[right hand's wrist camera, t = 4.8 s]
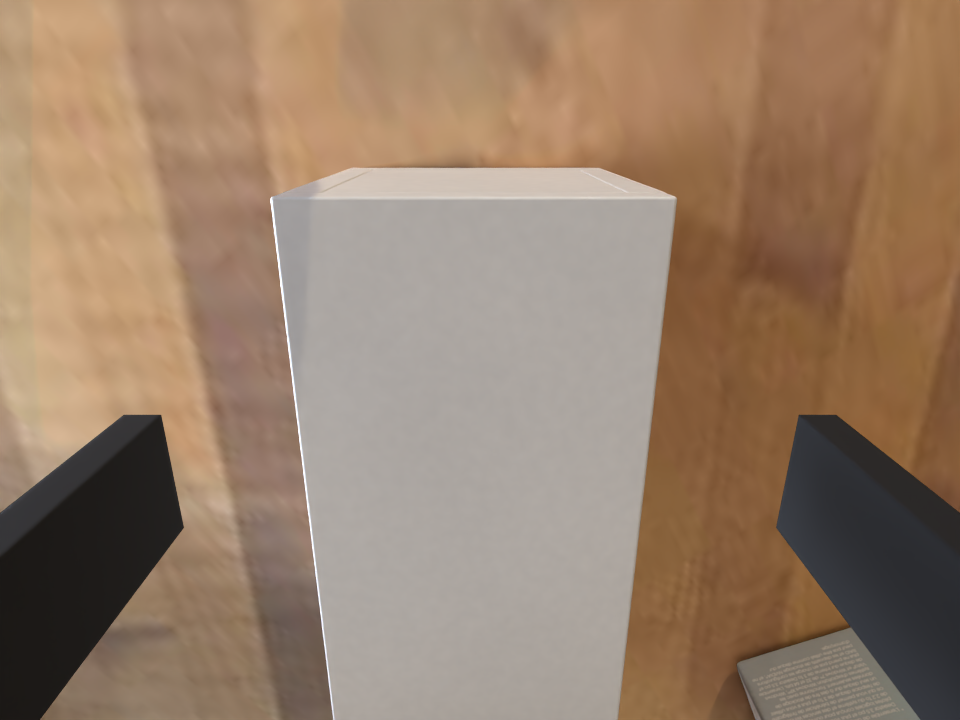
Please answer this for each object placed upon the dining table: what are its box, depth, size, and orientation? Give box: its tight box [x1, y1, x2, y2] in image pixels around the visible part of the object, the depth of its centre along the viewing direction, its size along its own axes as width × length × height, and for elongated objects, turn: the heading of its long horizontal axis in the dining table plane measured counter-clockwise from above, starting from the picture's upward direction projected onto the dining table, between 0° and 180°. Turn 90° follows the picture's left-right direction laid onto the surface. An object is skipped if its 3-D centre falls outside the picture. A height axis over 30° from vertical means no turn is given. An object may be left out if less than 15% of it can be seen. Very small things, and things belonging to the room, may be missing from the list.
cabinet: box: [271, 168, 677, 720], centre depth 24 cm, size 22×10×11 cm, turn 0°
